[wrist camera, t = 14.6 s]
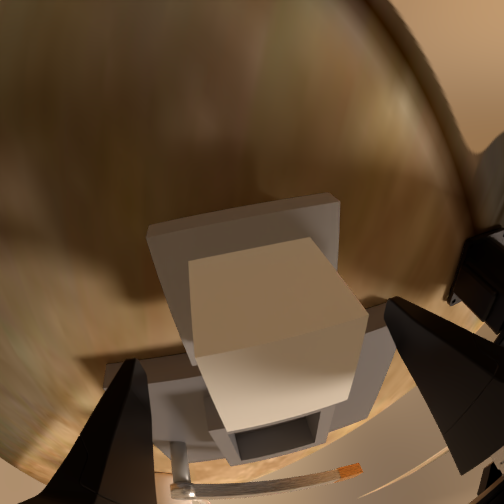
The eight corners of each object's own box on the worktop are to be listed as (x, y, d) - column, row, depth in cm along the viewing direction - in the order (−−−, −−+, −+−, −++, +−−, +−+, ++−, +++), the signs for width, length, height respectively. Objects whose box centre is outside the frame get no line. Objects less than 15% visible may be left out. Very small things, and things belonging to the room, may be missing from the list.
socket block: (391, 300, 19) (436, 357, 14) (359, 403, 27) (381, 446, 22) (106, 364, 17) (97, 440, 12) (174, 447, 25) (179, 496, 20)
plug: (303, 173, 13) (414, 265, 7) (306, 289, 17) (369, 403, 10) (155, 199, 12) (127, 331, 6) (188, 314, 16) (202, 448, 9)
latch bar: (360, 461, 23) (365, 470, 22) (349, 468, 24) (353, 478, 23) (171, 481, 16) (173, 495, 15) (167, 486, 17) (169, 500, 16)
